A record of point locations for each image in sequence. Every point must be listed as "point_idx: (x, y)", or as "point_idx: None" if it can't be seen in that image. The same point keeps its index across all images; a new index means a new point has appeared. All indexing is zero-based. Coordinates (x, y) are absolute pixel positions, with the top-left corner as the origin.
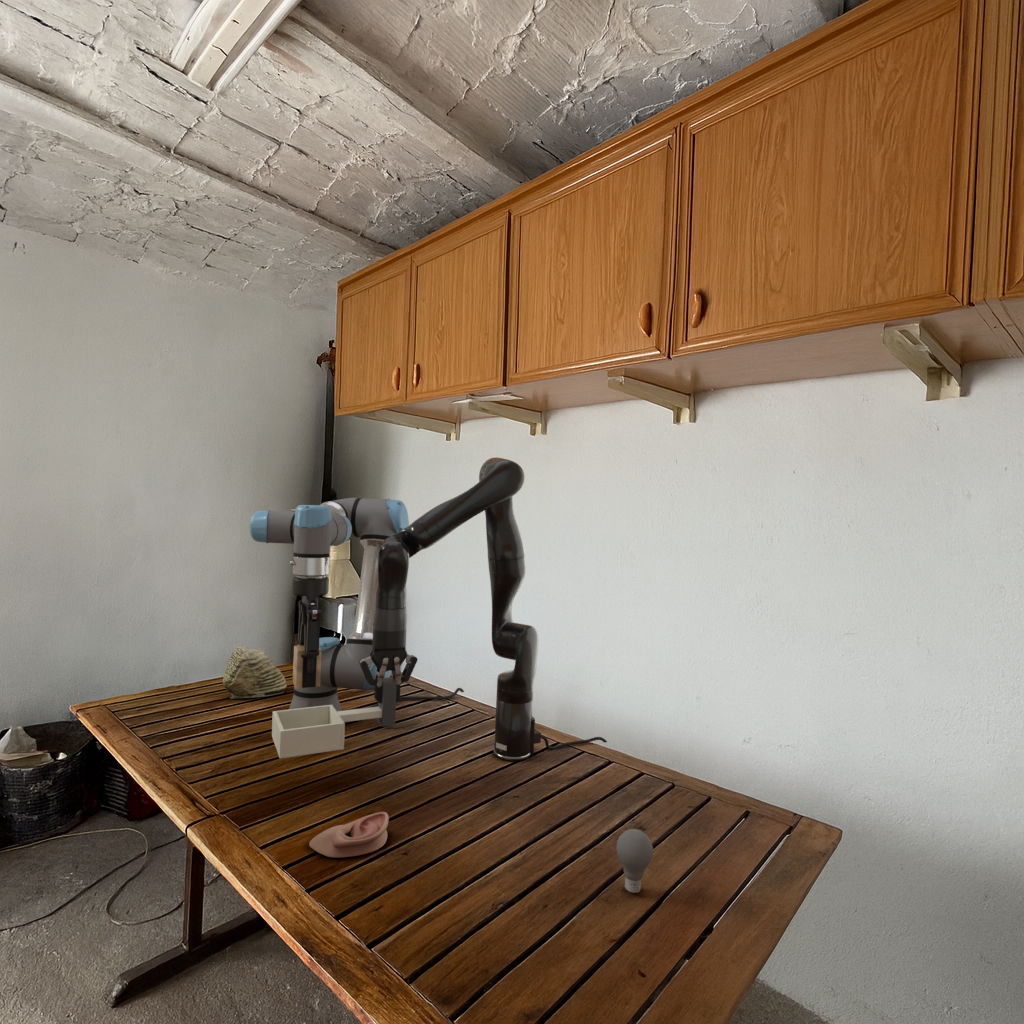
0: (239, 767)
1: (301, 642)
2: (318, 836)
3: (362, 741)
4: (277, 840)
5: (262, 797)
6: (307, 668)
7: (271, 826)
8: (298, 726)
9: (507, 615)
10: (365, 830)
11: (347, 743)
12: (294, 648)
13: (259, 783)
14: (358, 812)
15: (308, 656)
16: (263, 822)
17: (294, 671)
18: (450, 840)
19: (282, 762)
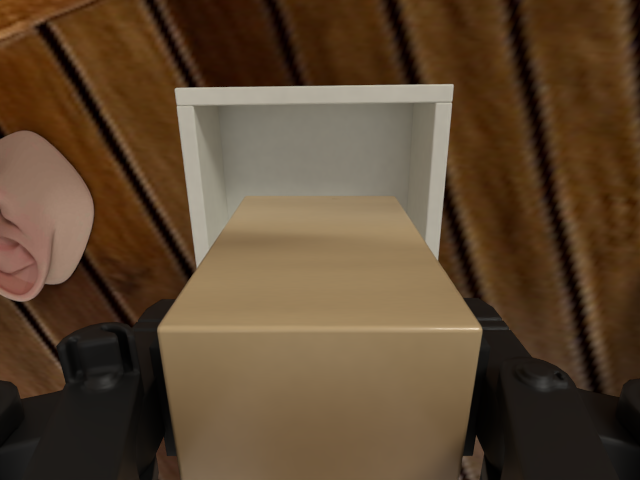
0: (523, 5)
1: (506, 438)
2: (28, 153)
3: (530, 340)
4: (69, 66)
5: (298, 54)
6: (141, 320)
7: (137, 60)
8: (412, 183)
9: None
10: (12, 246)
11: (537, 306)
12: (420, 314)
13: (387, 54)
14: (156, 252)
15: (34, 398)
16: (162, 43)
17: (331, 223)
18: (13, 371)
19: (497, 131)
